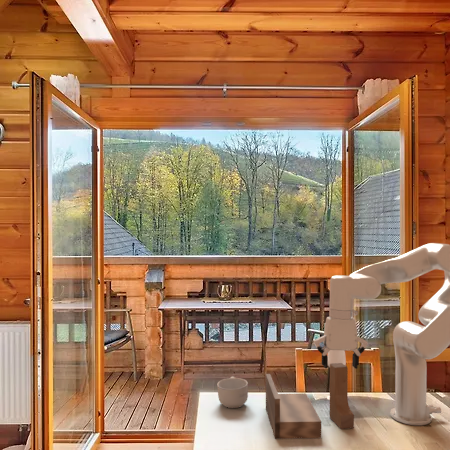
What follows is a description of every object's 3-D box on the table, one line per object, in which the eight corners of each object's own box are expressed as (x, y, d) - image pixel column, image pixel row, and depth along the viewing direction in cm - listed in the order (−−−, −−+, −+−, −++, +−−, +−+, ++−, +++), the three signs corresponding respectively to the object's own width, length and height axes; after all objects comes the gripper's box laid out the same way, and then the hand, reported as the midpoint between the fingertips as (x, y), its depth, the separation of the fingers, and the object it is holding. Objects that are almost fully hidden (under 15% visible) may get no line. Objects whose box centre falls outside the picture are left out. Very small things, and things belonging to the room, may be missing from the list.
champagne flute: (345, 395, 171) (345, 331, 171) (346, 402, 165) (346, 335, 164) (326, 394, 172) (327, 330, 172) (327, 401, 166) (327, 334, 166)
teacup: (245, 412, 156) (245, 389, 156) (214, 409, 158) (214, 386, 158) (251, 396, 170) (251, 375, 170) (222, 394, 172) (222, 373, 172)
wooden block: (354, 428, 144) (354, 371, 144) (340, 429, 144) (341, 372, 143) (341, 416, 153) (342, 362, 153) (329, 417, 152) (329, 363, 152)
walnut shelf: (305, 407, 160) (305, 373, 160) (321, 438, 138) (321, 398, 138) (265, 408, 160) (265, 373, 159) (274, 438, 138) (275, 398, 137)
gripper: (363, 312, 152) (362, 363, 152) (312, 311, 151) (310, 363, 151) (372, 317, 144) (370, 371, 145) (317, 316, 144) (316, 370, 144)
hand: (340, 367), depth 148 cm, fingers open, 9 cm apart
